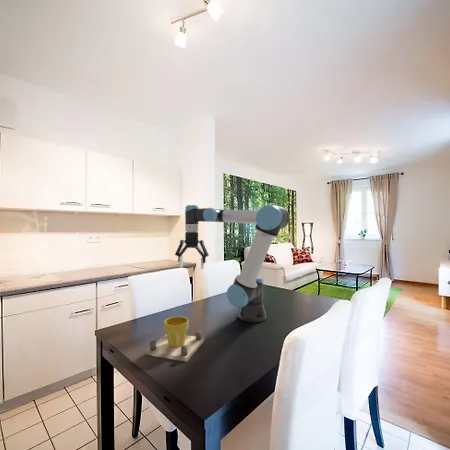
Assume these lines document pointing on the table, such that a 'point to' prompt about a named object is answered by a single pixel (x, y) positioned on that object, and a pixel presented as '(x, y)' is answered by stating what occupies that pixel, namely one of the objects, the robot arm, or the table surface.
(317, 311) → the table surface
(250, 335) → the table surface
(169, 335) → the plant pot
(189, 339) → the stub plate
